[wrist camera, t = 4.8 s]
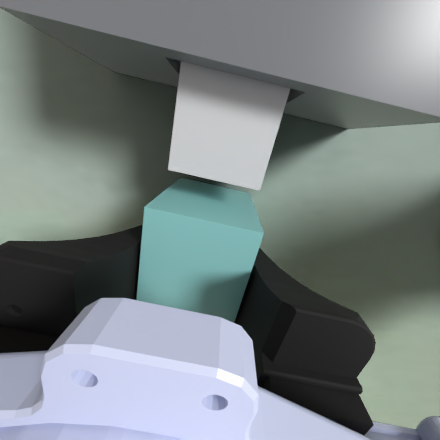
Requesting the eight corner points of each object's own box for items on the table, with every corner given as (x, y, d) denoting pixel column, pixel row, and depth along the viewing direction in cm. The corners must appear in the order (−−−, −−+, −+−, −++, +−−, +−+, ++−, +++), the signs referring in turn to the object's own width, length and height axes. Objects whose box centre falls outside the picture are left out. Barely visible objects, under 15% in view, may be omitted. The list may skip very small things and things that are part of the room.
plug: (301, 11, 9) (392, -151, 4) (229, 265, 14) (229, 337, 9) (208, -14, 9) (179, -218, 4) (169, 252, 13) (135, 319, 9)
